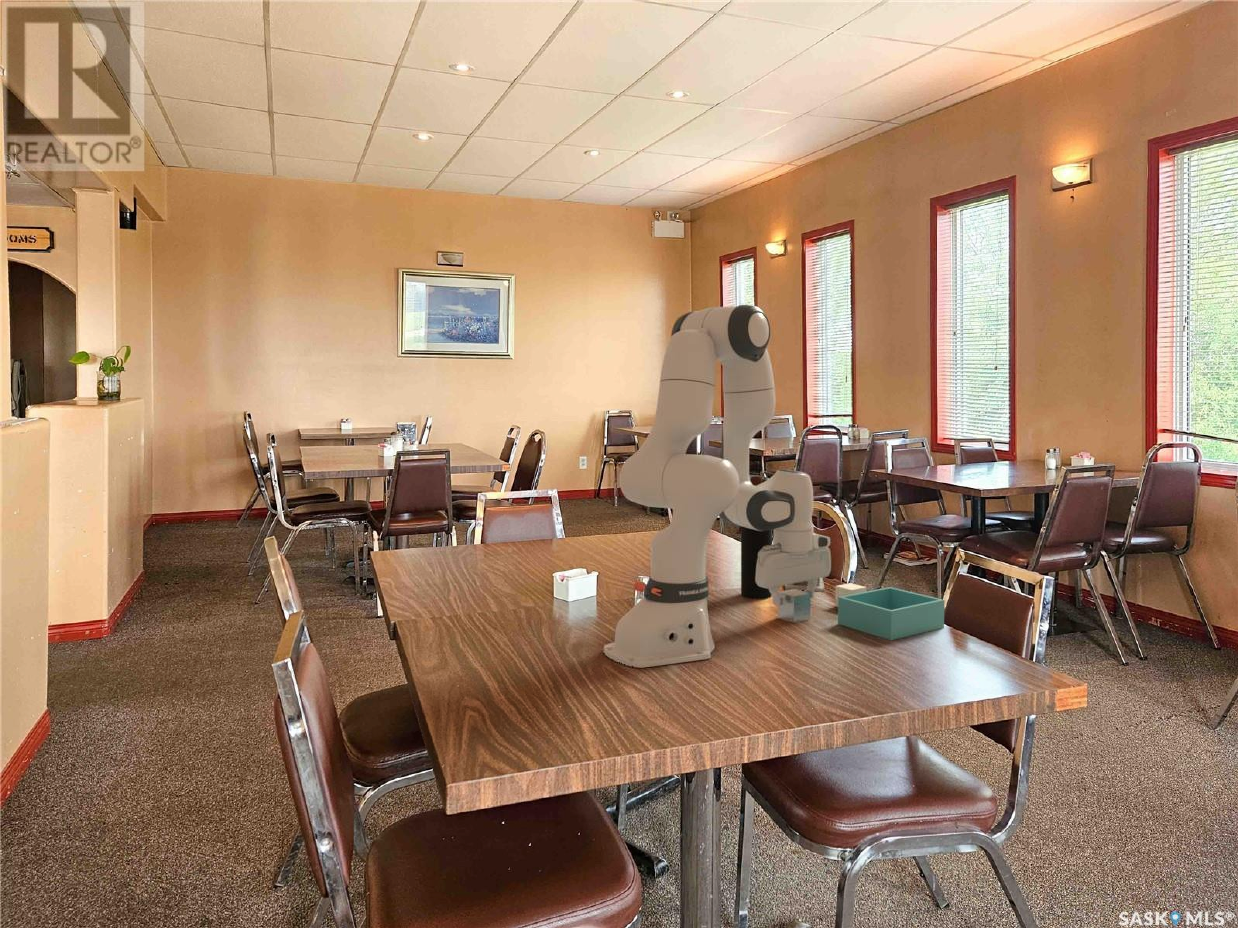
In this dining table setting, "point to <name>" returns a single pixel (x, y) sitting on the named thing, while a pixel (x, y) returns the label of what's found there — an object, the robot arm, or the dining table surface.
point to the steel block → (794, 606)
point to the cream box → (848, 590)
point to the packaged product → (805, 585)
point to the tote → (891, 612)
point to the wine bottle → (753, 557)
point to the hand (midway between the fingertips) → (793, 601)
